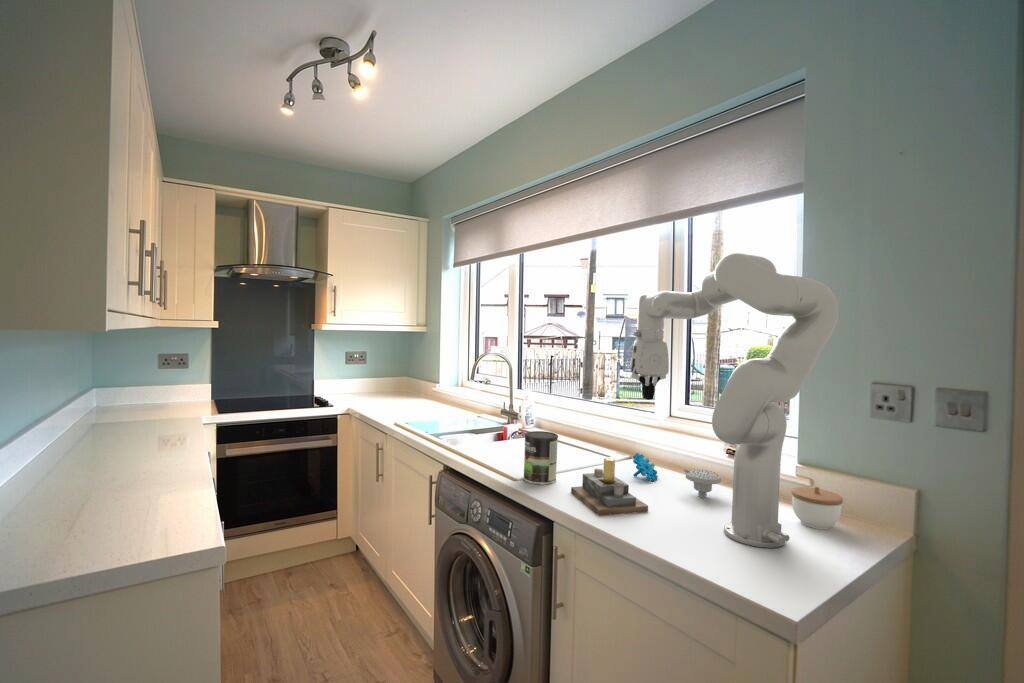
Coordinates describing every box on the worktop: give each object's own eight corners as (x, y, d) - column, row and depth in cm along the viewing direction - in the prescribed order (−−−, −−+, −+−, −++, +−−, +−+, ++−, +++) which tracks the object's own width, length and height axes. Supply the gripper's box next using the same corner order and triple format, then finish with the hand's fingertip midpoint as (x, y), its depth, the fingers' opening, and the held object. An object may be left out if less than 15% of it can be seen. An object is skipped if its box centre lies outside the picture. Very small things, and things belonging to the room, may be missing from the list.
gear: (648, 479, 149) (630, 451, 154) (635, 490, 152) (617, 462, 157) (665, 477, 157) (648, 451, 162) (652, 487, 159) (635, 461, 165)
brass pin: (615, 497, 132) (617, 460, 132) (605, 498, 131) (606, 461, 131) (610, 493, 135) (611, 457, 135) (600, 494, 134) (601, 458, 134)
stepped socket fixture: (647, 511, 126) (648, 484, 126) (598, 515, 123) (599, 487, 123) (615, 489, 144) (616, 465, 144) (571, 492, 140) (571, 468, 140)
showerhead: (683, 464, 146) (719, 468, 143) (682, 488, 146) (718, 493, 143) (683, 473, 137) (722, 477, 134) (682, 498, 137) (721, 503, 134)
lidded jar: (780, 517, 125) (781, 481, 125) (814, 515, 127) (816, 479, 127) (816, 535, 114) (817, 495, 114) (852, 531, 117) (854, 492, 117)
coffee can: (533, 486, 144) (535, 439, 144) (517, 476, 153) (518, 432, 153) (563, 482, 149) (564, 436, 149) (545, 473, 158) (546, 430, 158)
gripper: (633, 335, 137) (631, 401, 137) (680, 337, 140) (678, 400, 141) (620, 335, 144) (618, 397, 144) (665, 336, 148) (663, 397, 148)
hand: (648, 398), depth 142 cm, fingers closed
